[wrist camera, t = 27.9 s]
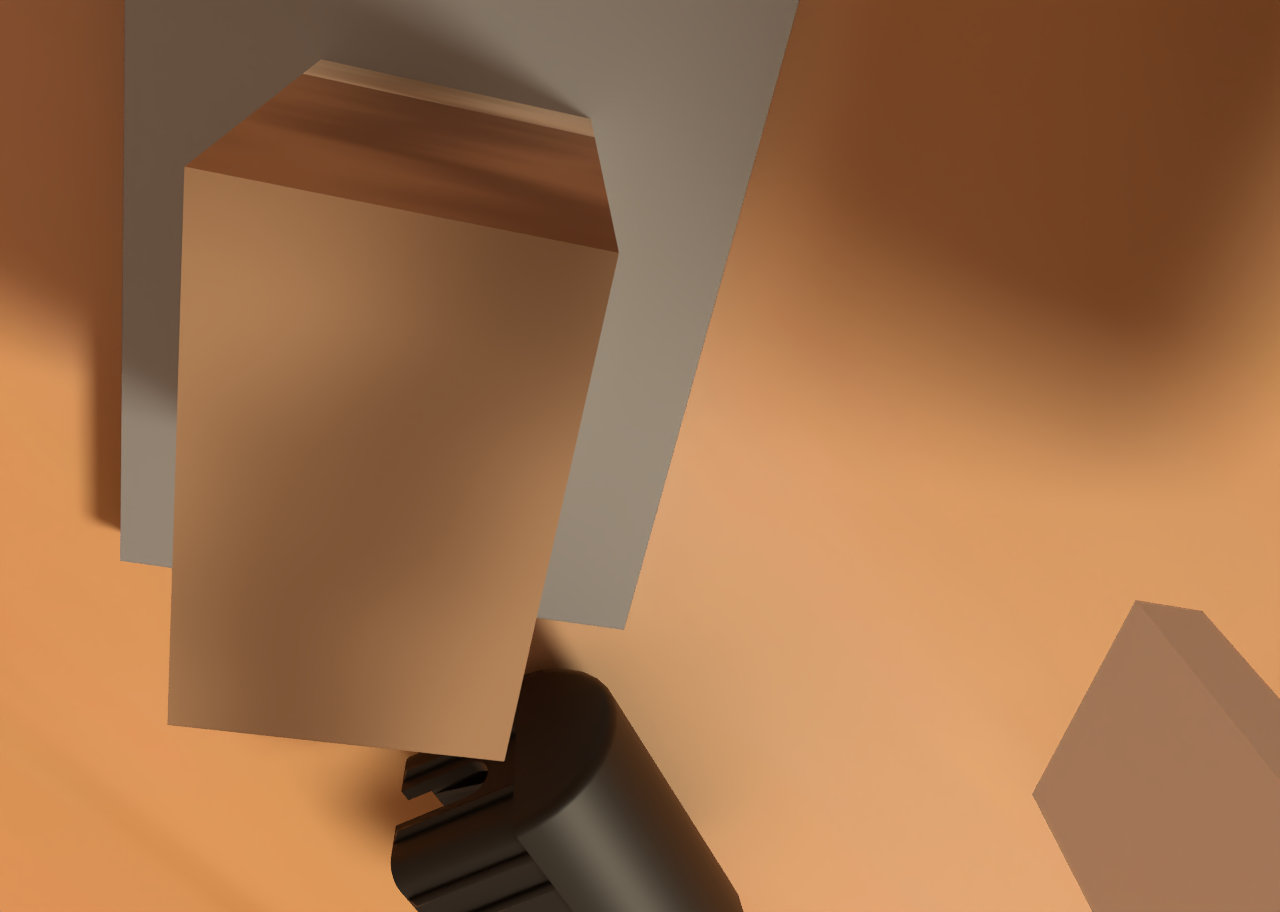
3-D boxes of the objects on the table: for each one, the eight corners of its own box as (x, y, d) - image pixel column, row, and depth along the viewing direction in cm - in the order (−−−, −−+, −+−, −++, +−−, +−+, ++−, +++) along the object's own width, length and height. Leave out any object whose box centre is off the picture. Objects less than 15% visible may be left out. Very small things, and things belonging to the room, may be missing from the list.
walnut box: (504, 761, 20) (515, 491, 28) (619, 252, 15) (590, 118, 24) (167, 724, 19) (287, 456, 27) (184, 166, 14) (320, 59, 23)
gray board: (794, -29, 24) (806, -25, 23) (621, 605, 32) (623, 629, 31) (146, -197, 21) (126, -201, 20) (135, 536, 30) (120, 561, 28)
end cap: (728, 825, 37) (763, 1004, 31) (548, 895, 38) (549, 1081, 32) (605, 624, 33) (620, 788, 27) (404, 709, 33) (375, 886, 28)
